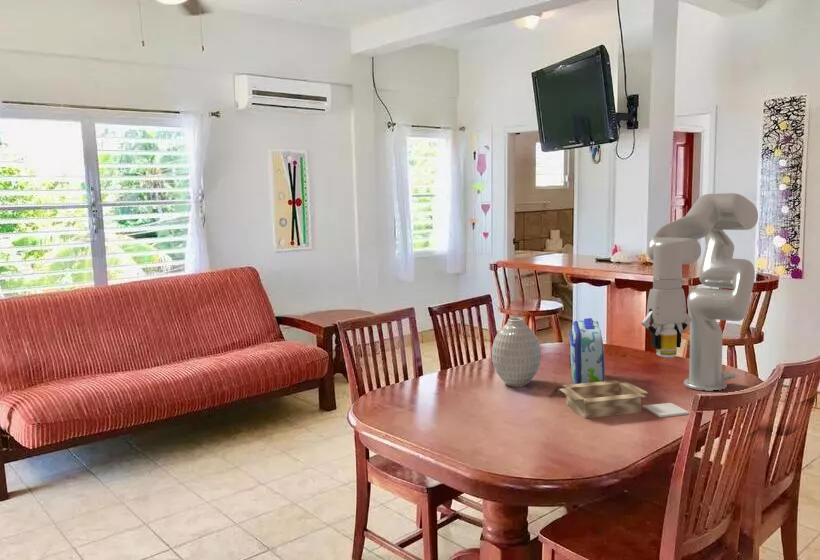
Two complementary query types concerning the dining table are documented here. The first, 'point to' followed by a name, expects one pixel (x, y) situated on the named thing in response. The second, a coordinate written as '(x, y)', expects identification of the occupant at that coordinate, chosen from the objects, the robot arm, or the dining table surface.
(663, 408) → the coaster
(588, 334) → the lunch box
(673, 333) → the supplement bottle
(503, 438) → the dining table surface
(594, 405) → the carton
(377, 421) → the dining table surface
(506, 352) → the vase
